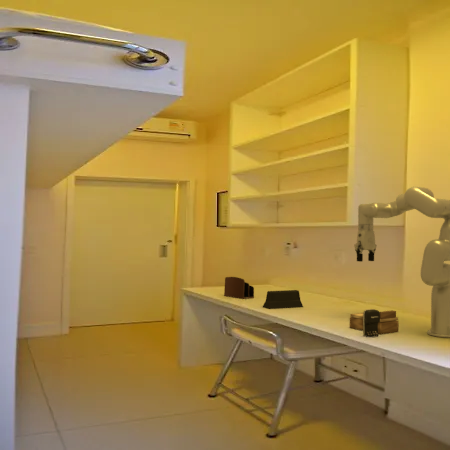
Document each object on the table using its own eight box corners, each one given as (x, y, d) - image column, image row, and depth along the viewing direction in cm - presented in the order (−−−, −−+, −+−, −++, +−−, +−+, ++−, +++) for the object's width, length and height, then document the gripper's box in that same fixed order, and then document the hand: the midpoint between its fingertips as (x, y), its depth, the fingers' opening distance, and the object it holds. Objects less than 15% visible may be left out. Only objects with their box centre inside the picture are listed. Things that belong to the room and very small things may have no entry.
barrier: (269, 309, 284) (269, 292, 284) (262, 307, 292) (262, 290, 292) (303, 307, 294) (303, 290, 294) (295, 305, 302) (295, 289, 302)
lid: (397, 320, 223) (397, 310, 223) (379, 322, 216) (379, 312, 216) (368, 314, 237) (368, 305, 237) (350, 316, 230) (350, 307, 230)
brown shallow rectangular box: (398, 331, 222) (398, 320, 223) (380, 334, 216) (380, 323, 216) (367, 325, 237) (367, 315, 237) (349, 327, 230) (349, 317, 230)
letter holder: (243, 299, 325) (243, 278, 325) (223, 296, 340) (224, 275, 340) (254, 298, 332) (254, 277, 332) (234, 295, 347) (235, 275, 347)
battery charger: (367, 337, 209) (367, 310, 209) (362, 335, 213) (362, 309, 213) (381, 336, 212) (381, 310, 212) (375, 334, 215) (375, 308, 215)
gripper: (361, 227, 245) (361, 262, 244) (381, 228, 255) (381, 261, 255) (349, 227, 250) (348, 261, 250) (369, 228, 261) (369, 260, 261)
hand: (365, 261), depth 252 cm, fingers open, 9 cm apart
